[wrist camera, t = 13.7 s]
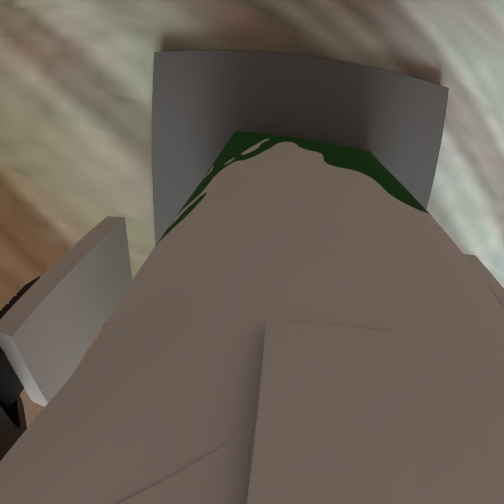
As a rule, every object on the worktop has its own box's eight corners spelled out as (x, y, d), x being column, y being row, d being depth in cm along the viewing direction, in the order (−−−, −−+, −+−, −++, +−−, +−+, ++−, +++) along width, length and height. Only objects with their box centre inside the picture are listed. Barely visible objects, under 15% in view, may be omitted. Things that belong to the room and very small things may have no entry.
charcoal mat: (161, 53, 15) (154, 52, 14) (440, 87, 14) (448, 88, 13) (165, 293, 23) (161, 301, 22) (385, 315, 22) (388, 324, 21)
